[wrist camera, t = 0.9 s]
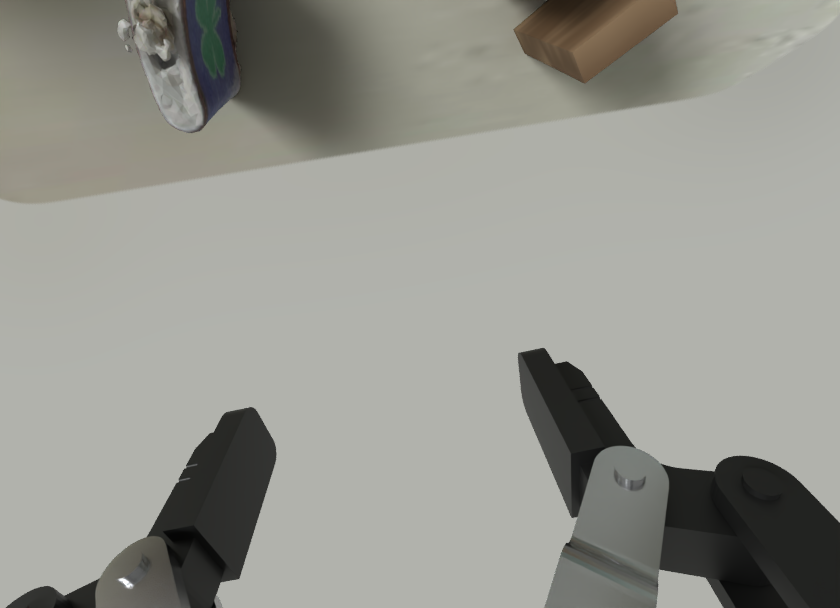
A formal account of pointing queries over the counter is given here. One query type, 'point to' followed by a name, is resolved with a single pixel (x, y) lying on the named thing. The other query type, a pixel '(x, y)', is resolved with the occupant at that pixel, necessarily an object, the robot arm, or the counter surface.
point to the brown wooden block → (589, 32)
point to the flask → (185, 56)
